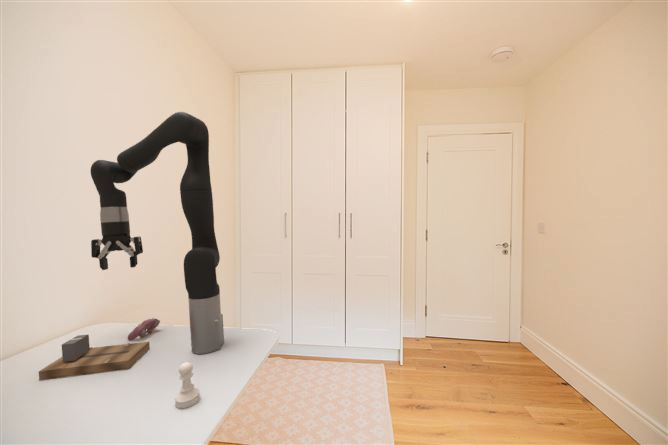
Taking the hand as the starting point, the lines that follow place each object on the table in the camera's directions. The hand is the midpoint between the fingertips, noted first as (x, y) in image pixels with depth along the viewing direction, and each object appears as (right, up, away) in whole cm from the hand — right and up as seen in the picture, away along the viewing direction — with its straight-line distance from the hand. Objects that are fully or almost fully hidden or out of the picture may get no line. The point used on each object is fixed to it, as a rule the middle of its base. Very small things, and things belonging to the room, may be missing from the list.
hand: (119, 268), depth 93 cm
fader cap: (-3, -24, -12) cm, 27 cm away
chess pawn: (+39, -26, -30) cm, 56 cm away
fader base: (+2, -27, -11) cm, 29 cm away
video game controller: (+3, -27, +8) cm, 28 cm away
